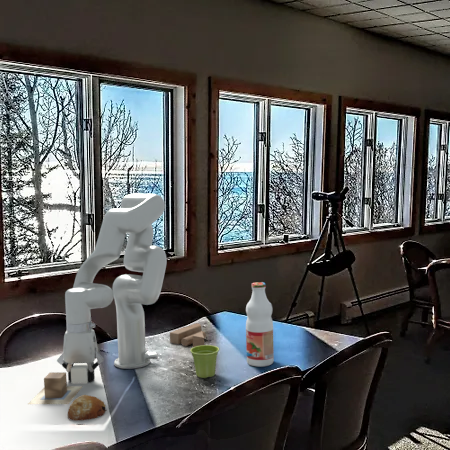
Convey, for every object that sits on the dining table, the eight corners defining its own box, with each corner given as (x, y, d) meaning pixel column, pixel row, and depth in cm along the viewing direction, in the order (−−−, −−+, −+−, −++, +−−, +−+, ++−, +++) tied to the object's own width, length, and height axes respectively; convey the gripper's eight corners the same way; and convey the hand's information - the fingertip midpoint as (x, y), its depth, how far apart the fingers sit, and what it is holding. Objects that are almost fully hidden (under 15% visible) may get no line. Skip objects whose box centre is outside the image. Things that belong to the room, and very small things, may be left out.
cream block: (91, 381, 188) (90, 363, 187) (87, 387, 183) (86, 368, 182) (76, 381, 188) (75, 363, 187) (71, 387, 183) (70, 368, 182)
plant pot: (213, 381, 185) (212, 354, 184) (186, 378, 188) (185, 352, 187) (223, 371, 193) (223, 346, 193) (197, 369, 197) (197, 344, 196)
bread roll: (79, 423, 165) (65, 399, 164) (111, 406, 165) (98, 382, 164) (73, 438, 155) (58, 413, 154) (107, 420, 155) (93, 395, 154)
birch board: (83, 390, 180) (83, 386, 180) (68, 408, 166) (68, 404, 166) (45, 390, 181) (45, 386, 181) (27, 408, 167) (27, 404, 167)
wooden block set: (167, 330, 227) (195, 320, 242) (168, 344, 228) (196, 333, 242) (202, 336, 218) (229, 325, 232) (202, 350, 218) (229, 339, 233)
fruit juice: (276, 366, 198) (275, 285, 195) (249, 368, 196) (247, 286, 194) (270, 357, 207) (268, 280, 204) (244, 359, 205) (242, 281, 203)
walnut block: (67, 391, 176) (66, 372, 175) (61, 398, 171) (60, 378, 170) (51, 391, 176) (49, 372, 175) (44, 398, 171) (43, 378, 170)
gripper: (108, 323, 187) (111, 378, 188) (56, 324, 188) (59, 378, 189) (102, 330, 179) (105, 387, 181) (48, 330, 180) (51, 387, 182)
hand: (81, 382), depth 185 cm, fingers open, 5 cm apart
